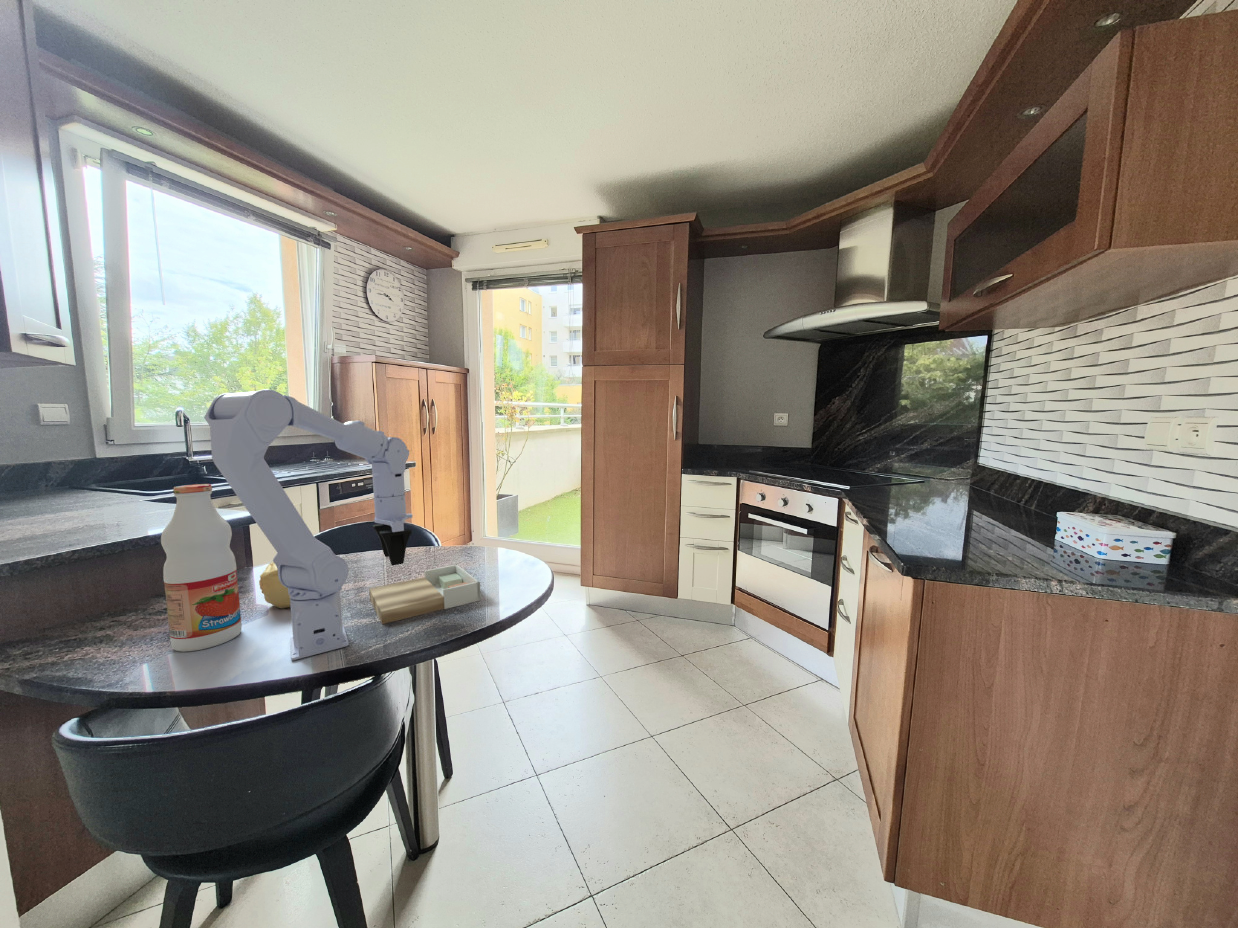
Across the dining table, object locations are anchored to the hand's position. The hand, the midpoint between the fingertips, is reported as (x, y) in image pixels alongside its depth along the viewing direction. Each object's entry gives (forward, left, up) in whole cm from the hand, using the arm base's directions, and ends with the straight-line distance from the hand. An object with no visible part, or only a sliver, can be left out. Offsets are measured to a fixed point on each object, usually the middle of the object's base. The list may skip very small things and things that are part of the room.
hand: (393, 559), depth 93 cm
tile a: (-4, -12, -8) cm, 15 cm away
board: (0, -2, -10) cm, 10 cm away
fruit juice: (+5, +30, -10) cm, 32 cm away
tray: (0, -11, -10) cm, 15 cm away
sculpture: (+17, +17, -10) cm, 26 cm away
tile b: (+4, -12, -8) cm, 15 cm away
